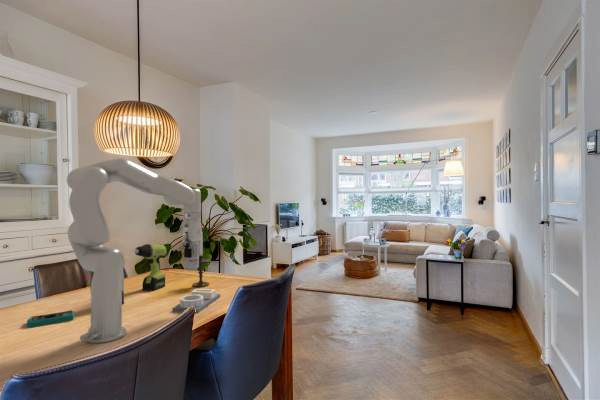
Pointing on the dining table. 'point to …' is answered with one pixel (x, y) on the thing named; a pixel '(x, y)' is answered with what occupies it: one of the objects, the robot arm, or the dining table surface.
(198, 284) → the candlestick
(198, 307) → the socket board
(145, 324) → the dining table surface
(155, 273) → the cordless drill
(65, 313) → the digital multimeter
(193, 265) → the energy drink can
